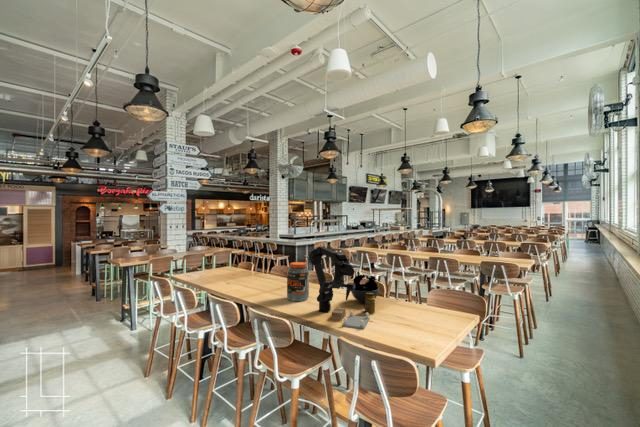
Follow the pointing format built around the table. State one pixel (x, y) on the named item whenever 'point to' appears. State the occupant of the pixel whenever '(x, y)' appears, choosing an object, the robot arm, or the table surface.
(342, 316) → the block
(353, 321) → the chassis
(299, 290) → the supplement tub
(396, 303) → the table surface
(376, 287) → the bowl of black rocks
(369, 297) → the condiment
